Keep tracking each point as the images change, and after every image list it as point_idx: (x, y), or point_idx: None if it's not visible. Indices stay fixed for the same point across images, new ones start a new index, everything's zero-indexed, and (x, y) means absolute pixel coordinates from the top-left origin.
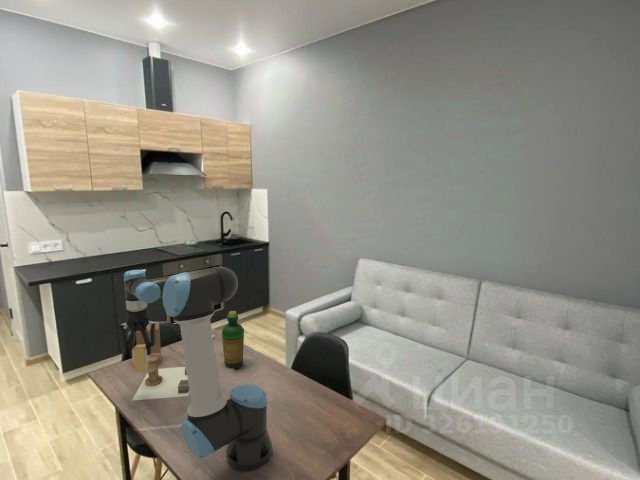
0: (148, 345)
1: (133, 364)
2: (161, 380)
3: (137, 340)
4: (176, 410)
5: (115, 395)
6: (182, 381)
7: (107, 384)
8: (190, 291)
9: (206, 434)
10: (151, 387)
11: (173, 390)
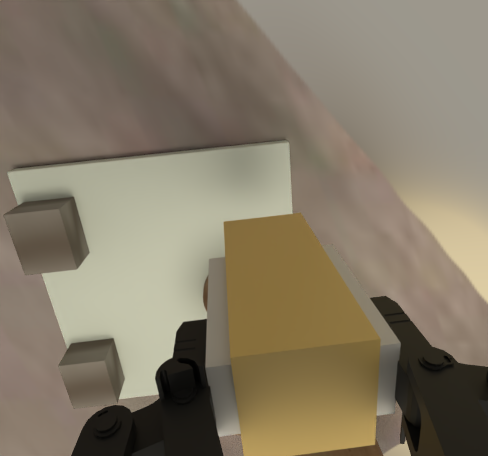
0: (168, 416)
1: (329, 245)
2: (203, 292)
3: None
4: (25, 65)
5: (385, 204)
6: (58, 257)
7: (446, 284)
8: None
9: None
10: None
11: (111, 220)
